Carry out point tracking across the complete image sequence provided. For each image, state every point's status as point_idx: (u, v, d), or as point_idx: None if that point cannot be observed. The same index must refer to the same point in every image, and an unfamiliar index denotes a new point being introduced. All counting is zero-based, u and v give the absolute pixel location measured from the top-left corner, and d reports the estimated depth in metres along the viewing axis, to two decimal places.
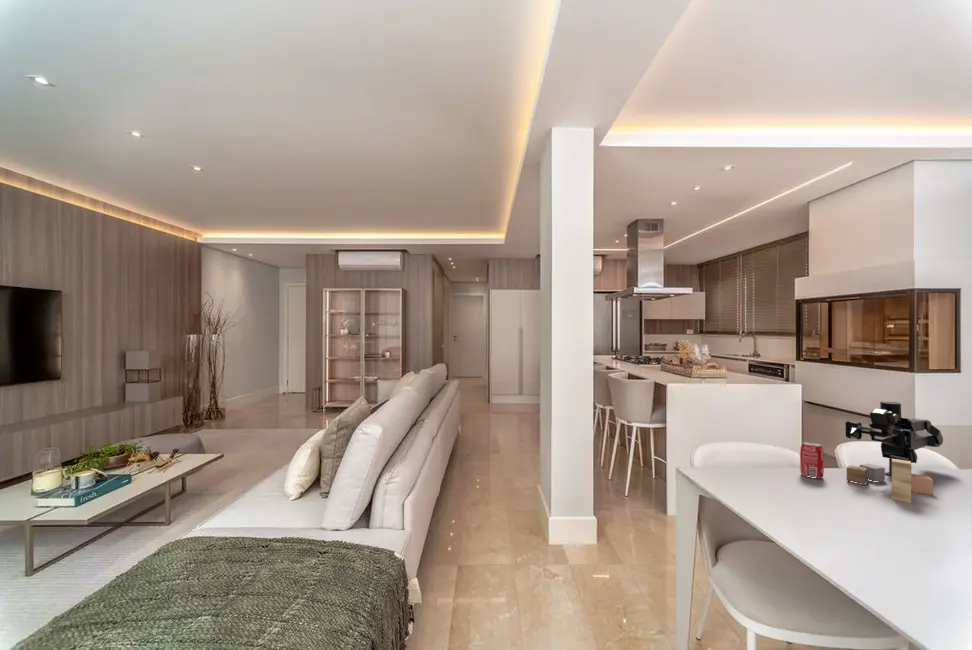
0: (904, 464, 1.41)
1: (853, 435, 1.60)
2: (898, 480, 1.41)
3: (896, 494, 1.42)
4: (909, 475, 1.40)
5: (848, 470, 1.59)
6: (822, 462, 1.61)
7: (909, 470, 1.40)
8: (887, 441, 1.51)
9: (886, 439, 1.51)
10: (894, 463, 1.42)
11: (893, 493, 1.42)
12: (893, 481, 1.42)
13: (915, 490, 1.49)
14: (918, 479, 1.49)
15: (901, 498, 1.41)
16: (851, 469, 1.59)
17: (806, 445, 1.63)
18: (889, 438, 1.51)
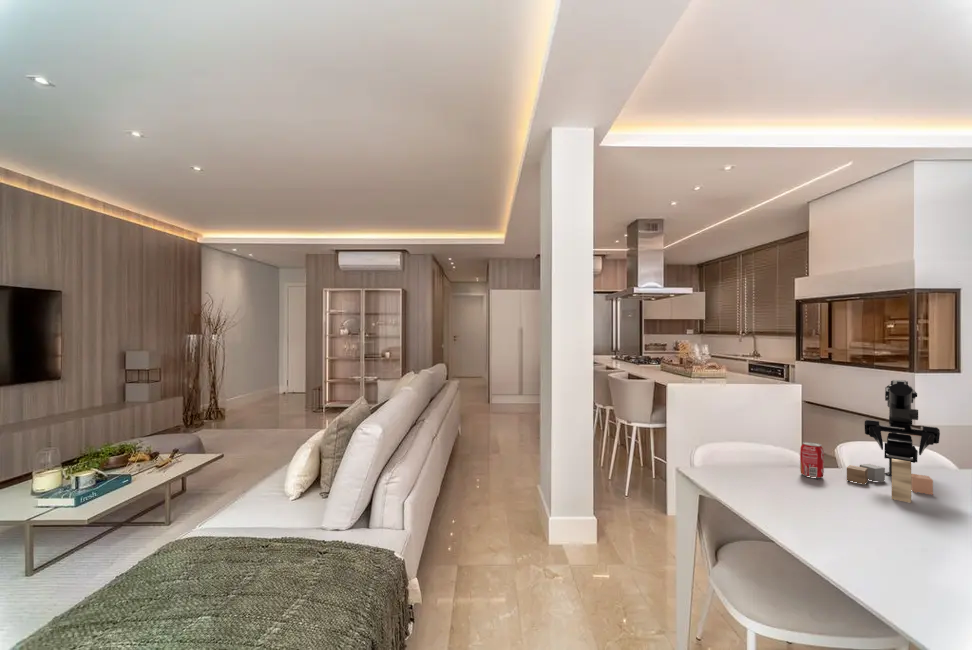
0: (904, 464, 1.41)
1: (882, 446, 1.53)
2: (898, 480, 1.41)
3: (896, 494, 1.42)
4: (909, 475, 1.40)
5: (848, 470, 1.59)
6: (822, 462, 1.61)
7: (909, 470, 1.40)
8: (922, 451, 1.46)
9: (922, 451, 1.46)
10: (894, 463, 1.42)
11: (893, 493, 1.42)
12: (893, 481, 1.42)
13: (915, 490, 1.49)
14: (918, 479, 1.49)
15: (901, 498, 1.41)
16: (851, 469, 1.59)
17: (806, 445, 1.63)
18: (923, 448, 1.46)
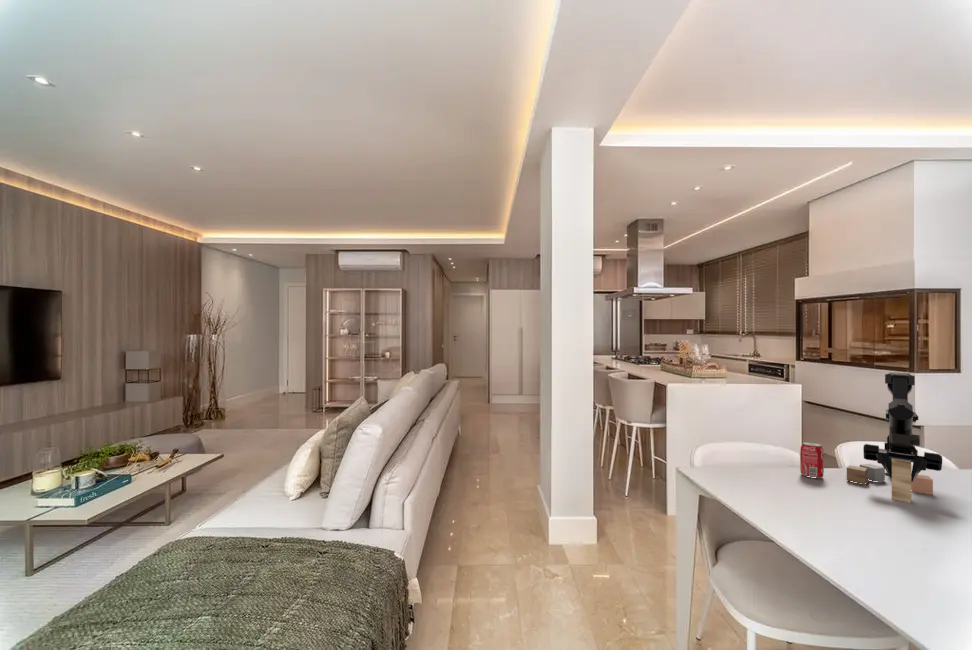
0: (904, 464, 1.41)
1: (891, 474, 1.44)
2: (898, 480, 1.41)
3: (896, 494, 1.42)
4: (909, 475, 1.40)
5: (848, 470, 1.59)
6: (822, 462, 1.61)
7: (909, 470, 1.40)
8: (914, 477, 1.41)
9: (914, 477, 1.40)
10: (894, 463, 1.42)
11: (893, 493, 1.42)
12: (893, 481, 1.42)
13: (915, 490, 1.49)
14: (918, 479, 1.49)
15: (901, 498, 1.41)
16: (851, 469, 1.59)
17: (806, 445, 1.63)
18: (915, 474, 1.40)
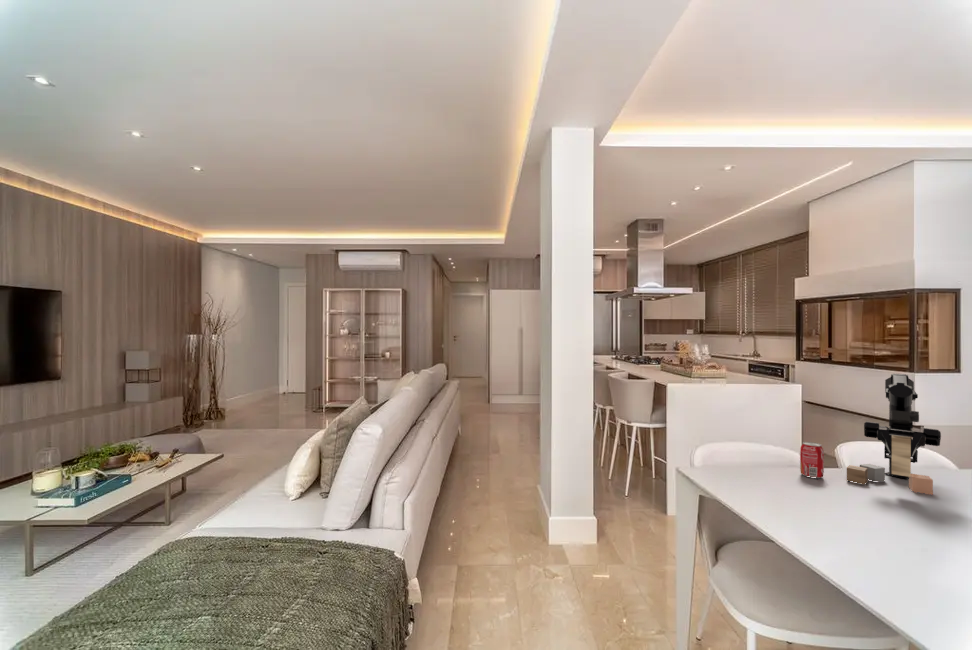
0: (904, 439, 1.45)
1: (891, 449, 1.48)
2: (898, 455, 1.45)
3: (896, 469, 1.46)
4: (908, 450, 1.44)
5: (848, 470, 1.59)
6: (822, 462, 1.61)
7: (908, 445, 1.44)
8: (913, 452, 1.45)
9: (913, 452, 1.44)
10: (894, 439, 1.46)
11: (893, 468, 1.46)
12: (893, 456, 1.46)
13: (915, 490, 1.49)
14: (918, 479, 1.49)
15: (901, 472, 1.45)
16: (851, 469, 1.59)
17: (806, 445, 1.63)
18: (914, 449, 1.44)
